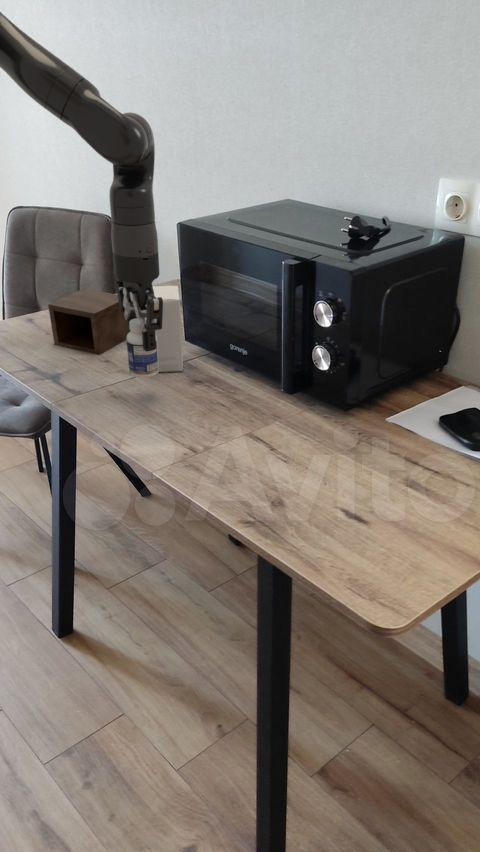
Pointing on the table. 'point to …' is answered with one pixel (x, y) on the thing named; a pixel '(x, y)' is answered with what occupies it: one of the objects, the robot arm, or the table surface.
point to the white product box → (169, 330)
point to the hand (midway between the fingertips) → (142, 344)
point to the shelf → (88, 321)
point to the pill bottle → (140, 353)
